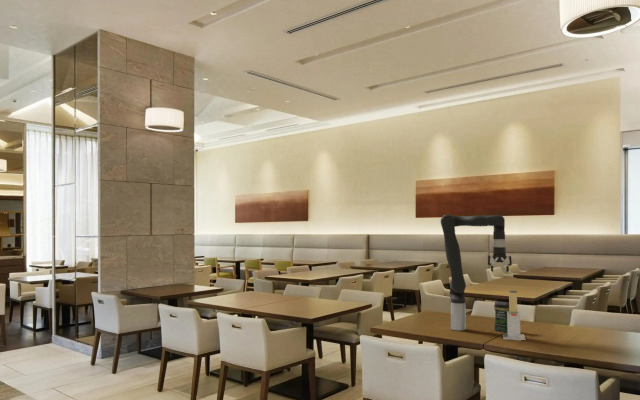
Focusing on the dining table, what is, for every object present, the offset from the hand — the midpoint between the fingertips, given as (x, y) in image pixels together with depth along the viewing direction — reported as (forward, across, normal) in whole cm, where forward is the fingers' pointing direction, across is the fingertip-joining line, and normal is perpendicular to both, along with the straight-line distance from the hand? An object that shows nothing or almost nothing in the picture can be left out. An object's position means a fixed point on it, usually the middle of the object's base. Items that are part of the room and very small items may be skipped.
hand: (499, 272), depth 303 cm
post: (+31, +7, -12) cm, 34 cm away
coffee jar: (+38, +1, +7) cm, 39 cm away
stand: (+38, +7, -12) cm, 41 cm away
